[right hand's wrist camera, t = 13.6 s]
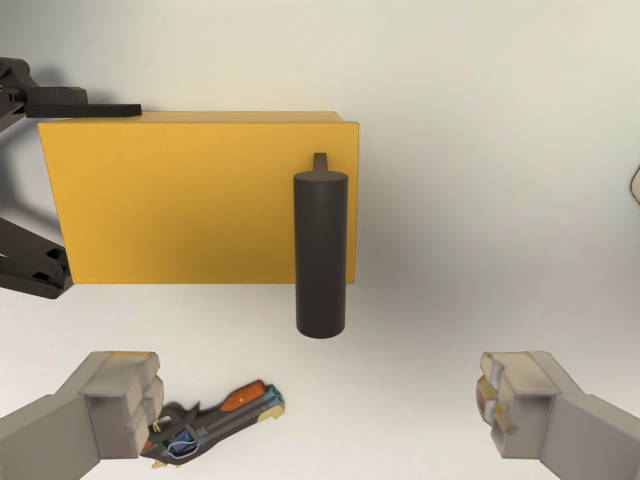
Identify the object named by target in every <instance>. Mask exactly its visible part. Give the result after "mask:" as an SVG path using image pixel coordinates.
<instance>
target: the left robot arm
mask: <svg viewBox="0 0 640 480" xmlns="http://www.w3.org/2000/svg"><path fill="white" fill-rule="evenodd" d="M29 74H30V68H29V65H28V64H27V62H25V61H24V60H21V59H14V58H4V57H0V86H1V85H2V86H3V87H0V90H3V91H1V92H0V133H1V132H2V131H3V130H5V129H6V128H8V127H9V126H11V125H12V124H14V123H15V122H17V121H18V120H20V119H21V118H22V117H24V116H25V115H26V118H82V117H132V116H139V115H142V110H141V104H88V99H87V93H86V90H85V89H82V88H80V87H41V86H39V85H37V84H36V83H35V82H34V81H33V80H32V79H31V77H30V75H29ZM0 254H2V255H5V256H7V257H4V256H0V287H2V288H6V289H10V290H14V291H19V292H23V293H27V294H31V295H35V296H40V297H44V298H48V299H57V298H58V297H59V296H60V295H62V294H63V293H64V292H65V291H67V290H68V289H69V288H70V287H72V286H73V285H74V283H73V280H72V275H71V271H70V267H69V262H68V258H67V254H66V249H65V248H64V247H62V246H60V245H58V244H56V243H54V242H51V241H49V240H47V239H45V238H43V237H41V236H39V235H37V234H34V233H32V232H30V231H28V230H26V229H24V228H22V227H20V226H17V225H15V224H13V223H11V222H9V221H7V220H5V219H3V218H1V217H0ZM8 257H9V258H8Z"/></svg>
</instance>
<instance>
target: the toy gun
mask: <svg viewBox="0 0 640 480" xmlns="http://www.w3.org/2000/svg"><path fill="white" fill-rule="evenodd" d="M198 408H199V405H197V406H196V407H195V408H194V409H193V410H192V411H191V412H189V413H188V414H187V415H183V414H182V413H181V412H180V410H179V409H177V408H176V407H173V406H169V407H167V408H165V409H163V410H161V412H160V414H159V417H158V419H157V421H155V422H154V423H153V427H152V426H151V425H150V426H148V430H149V437H148V439H147V441H146V443H145V445H144V447H143V449H142V451H141V453H140V456H142V457H147V458H152V459H155V461H156V463H155V464H154V465H153V466H152V468H158V467H161V466H163V467H165V466H167V464H168V463H169V464H173V465H175V466H176V467H177V468H178V467H179V466H181V465H182V464H185V463H187V462H189V461H191V460H193V459H194V458H196V457H198V456H200V455H202V454H204V453H205V452H207V451H208V450H209V449H211V448H212V447H213V446H214V445H216V444H217V443H218V442H220V441H221V440H223V439H225V438H227V437H229V436H231V435H233V434H235V433H237V432H239V431H241V430H243V429H245V428H247V427H249V426H251V425H253V424H255V423H258V422H260V421H262V420H264V419H266V418H268V417H271V416H273V418H274V419H277V418H278V417H280V416H281V415H282V414H284V410H285V406H284V405H283V403H282V399H281V397H280V395H279V394H277V395H276V391H275V389H274V388H273V387H272V388H265V387H264V385H263V384H262V383H261V382H260V381H258V382H256V383H254V384H252V385H249V386H247V387H245V388H243V389H241V390H239V391H237V392H235V393H233V394H231V395H230V396H229V397H228V398H227V400H226V401H225V402H224V403H223V405H222V406H221V407H220V408H218V409H216V410H214V411H212V412H210V413H208V414H205V415H201V416H196V415H197V413H198ZM165 416H170V417H171V419H172V423H171V424H169V425H167V426H165V427H163V428H161V429H160V427H159V426H158V424H157V422H159V420H160V419H161V418H163V417H165ZM155 426H156V427H155ZM153 428H154V429H153ZM156 428H157V429H156ZM180 431H181V432H180ZM179 432H180V433H179ZM177 433H179V434H178V435H177V436H176V437H175V438H174V439H173V437H174V435H175V434H177ZM170 437H172V438H171V442H169V441H168V440H167V439H168V438H170ZM198 438H199V439H198ZM172 440H173V441H172ZM198 440H199V445H197V446H195V445H196V442H197V441H198ZM191 448H192V449H191ZM189 449H190V450H189ZM186 450H187V451H186Z"/></svg>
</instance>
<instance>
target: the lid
mask: <svg viewBox="0 0 640 480" xmlns="http://www.w3.org/2000/svg"><path fill="white" fill-rule="evenodd" d="M37 126H38V131H39V135H40V139H41V144H42V148H43V153H44V157H45V161H46V166H47V170H48V175H49V179H50V183H51V188H52V192H53V196H54V201H55V205H56V210H57V214H58V218H59V223H60V227H61V232H62V236H63V240H64V245H65V249H66V254H67V258H68V262H69V267H70V271H71V275H72V280H73V283H74V284H296V324H297V329H298V330H299V332H300V333H302V334H303V335H305V336H307V337H311V338H316V339H325V338H331V337H334V336H336V335H338V334H340V333H341V332H342V331H343V329H344V327H345V297H346V284H353V283H354V277H355V245H356V213H357V182H358V150H359V123H358V122H42V123H38V124H37Z"/></svg>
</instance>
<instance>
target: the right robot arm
mask: <svg viewBox="0 0 640 480" xmlns="http://www.w3.org/2000/svg"><path fill="white" fill-rule="evenodd" d="M631 189H632V192H633V194H634V196H635V197H636V198H637V200H638V201H639V203H640V169H639V171H638V172H637V174H636V176H635V178H634V180H633V182H632V186H631ZM159 368H160V363H159V358H158V355H157V354H156V353H155V352H134V351H115V352H114V351H95V352H92V353H90V354H89V355H88V356H87V358H86V359H85V360H84V361H83V362H82V363H81V364H80V365H79V367H78V368H77V369H76V370H75V371H74V372H73V373H72V375H71V376H70V377H69V378H68V379H67V380H66V381H65V383H64V384H63V385H62V386H61V387H60V388H59V389H58V391H57V392H56V393H55V394H54V395H46V396H44V397H42V398H40V399H38V400H36V401H34V402H32V403H30V404H28V405H26V406H24V407H22V408H20V409H18V410H16V411H15V412H13V413H11V414H9V415H7V416H5V417H3V418H1V419H0V480H79V479H80V478H82V477H83V476H84V475H85V474H86V473H87V472H89V471H90V470H91V469H92V468H93V467H94V466H96V465H97V464H98V463H99V462H100V460H102V459H136V458H138V457H139V455H140V453H141V451H142V449H143V447H144V445H145V443H146V441H147V439H148V437H149V430H148V426H150V425H151V424H153V423H154V422H155V421H157V419H158V417H159V414H160V412H161V409H162V404H163V400H164V387H163V381H162V380H161V379H160V378H159V377H158V376H157V375H156V373H157V371H158V369H159ZM480 368H481V369H482V371H483V373H484V375H483V376H482V377H481V378H480V379H479V380H478V381H477V388H476V398H477V405H478V409H479V412H480V414H481V417H482V419H483V421H485V422H486V423H487V424H489V425H490V426H492V430H491V437H492V439H493V441H494V443H495V445H496V447H497V449H498V451H499V453H500V455H501V457H502V458H503V459H538V460H540V462H541V463H542V464H543V465H545V466H546V467H547V468H548V469H549V470H550V471H552V472H553V473H554V474H555V475H556V476H557V477H559V478H560V479H561V480H640V419H639V418H637V417H635V416H633V415H631V414H629V413H627V412H625V411H623V410H622V409H620V408H618V407H616V406H614V405H612V404H610V403H608V402H606V401H604V400H602V399H600V398H598V397H596V396H594V395H586V394H585V393H584V392H583V391H582V389H581V388H580V387H579V386H578V385H577V384H576V383H575V381H574V380H573V379H572V378H571V377H570V376H569V375H568V374H567V372H566V371H565V370H564V369H563V368H562V367H561V366H560V364H559V363H558V362H557V361H556V360H555V359H554V358H553V356H552V355H551V354H550V353H548V352H546V351H524V352H484V353H483V355H482V357H481V362H480Z"/></svg>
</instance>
